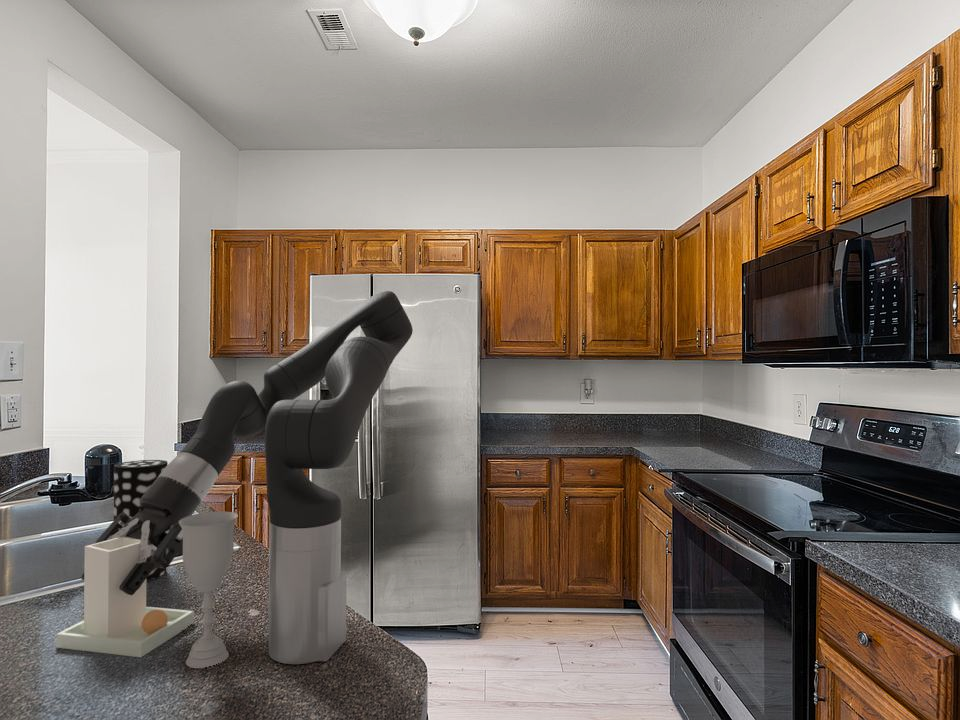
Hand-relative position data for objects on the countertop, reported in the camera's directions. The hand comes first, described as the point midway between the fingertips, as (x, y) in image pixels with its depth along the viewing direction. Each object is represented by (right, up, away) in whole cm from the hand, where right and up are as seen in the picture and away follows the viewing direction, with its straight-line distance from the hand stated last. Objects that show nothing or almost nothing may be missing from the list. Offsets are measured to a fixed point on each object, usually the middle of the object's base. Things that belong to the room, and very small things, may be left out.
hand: (105, 587), depth 81 cm
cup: (+1, -6, +1) cm, 7 cm away
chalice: (+17, -7, -6) cm, 19 cm away
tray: (+3, -7, +1) cm, 8 cm away
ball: (+7, -5, 0) cm, 8 cm away
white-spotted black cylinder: (-9, -7, +24) cm, 27 cm away
